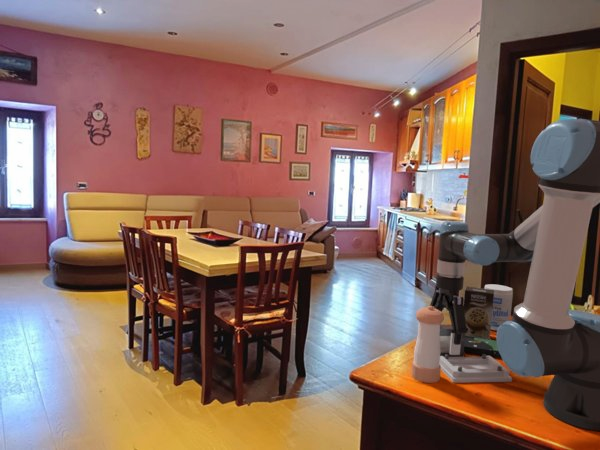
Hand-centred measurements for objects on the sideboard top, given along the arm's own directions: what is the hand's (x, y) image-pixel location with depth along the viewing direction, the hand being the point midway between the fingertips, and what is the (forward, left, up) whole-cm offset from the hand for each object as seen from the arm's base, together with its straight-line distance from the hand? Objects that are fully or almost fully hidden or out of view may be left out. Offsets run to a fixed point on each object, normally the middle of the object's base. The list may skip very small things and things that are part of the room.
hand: (444, 345), depth 134 cm
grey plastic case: (0, 0, -3) cm, 3 cm away
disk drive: (+5, -13, -4) cm, 14 cm away
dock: (-11, -3, -3) cm, 12 cm away
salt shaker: (-14, +11, -3) cm, 18 cm away
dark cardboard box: (+16, -18, -4) cm, 24 cm away
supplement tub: (+25, -30, -4) cm, 39 cm away
